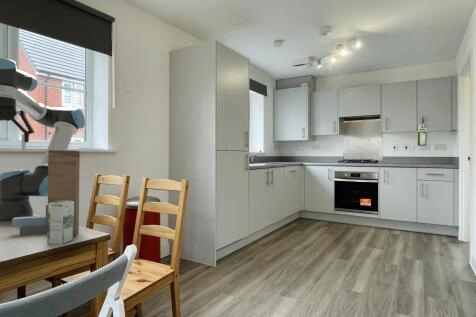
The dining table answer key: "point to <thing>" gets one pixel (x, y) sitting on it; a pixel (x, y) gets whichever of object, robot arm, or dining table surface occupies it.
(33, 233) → the board
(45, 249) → the dining table surface
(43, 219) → the mallet
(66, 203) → the syrup box
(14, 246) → the dining table surface
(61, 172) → the stand
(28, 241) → the dining table surface
